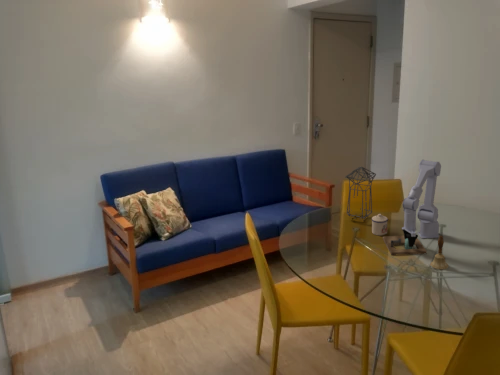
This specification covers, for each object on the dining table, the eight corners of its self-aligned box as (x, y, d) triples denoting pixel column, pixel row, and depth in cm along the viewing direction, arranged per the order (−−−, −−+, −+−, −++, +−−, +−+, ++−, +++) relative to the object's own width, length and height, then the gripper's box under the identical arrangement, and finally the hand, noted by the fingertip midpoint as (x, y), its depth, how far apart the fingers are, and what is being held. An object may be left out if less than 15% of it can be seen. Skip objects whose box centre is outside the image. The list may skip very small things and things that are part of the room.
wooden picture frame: (415, 237, 244) (415, 235, 243) (426, 253, 225) (426, 251, 224) (382, 238, 245) (382, 236, 245) (391, 255, 226) (391, 252, 226)
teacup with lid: (384, 237, 247) (384, 218, 244) (369, 234, 253) (369, 215, 249) (391, 229, 256) (392, 211, 253) (376, 226, 262) (377, 208, 258)
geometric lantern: (352, 213, 285) (353, 162, 274) (375, 217, 276) (377, 165, 265) (342, 221, 273) (343, 168, 262) (366, 226, 264) (368, 171, 253)
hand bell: (427, 262, 216) (428, 233, 211) (443, 260, 216) (445, 231, 212) (435, 270, 208) (437, 240, 203) (451, 268, 209) (454, 238, 204)
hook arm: (400, 248, 233) (400, 238, 231) (400, 249, 232) (401, 239, 230) (390, 248, 233) (390, 238, 232) (391, 249, 232) (391, 239, 230)
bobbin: (403, 246, 234) (404, 238, 232) (411, 246, 234) (411, 238, 232) (405, 250, 230) (406, 241, 229) (413, 249, 230) (413, 241, 228)
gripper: (398, 215, 234) (397, 237, 238) (406, 225, 220) (405, 249, 224) (411, 214, 233) (411, 237, 238) (420, 225, 220) (419, 249, 224)
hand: (409, 243), depth 231 cm, fingers open, 7 cm apart
